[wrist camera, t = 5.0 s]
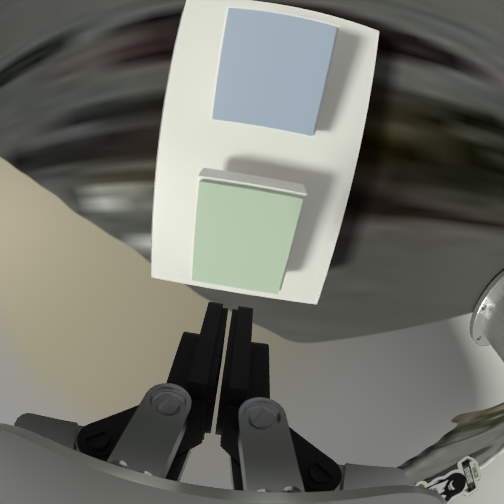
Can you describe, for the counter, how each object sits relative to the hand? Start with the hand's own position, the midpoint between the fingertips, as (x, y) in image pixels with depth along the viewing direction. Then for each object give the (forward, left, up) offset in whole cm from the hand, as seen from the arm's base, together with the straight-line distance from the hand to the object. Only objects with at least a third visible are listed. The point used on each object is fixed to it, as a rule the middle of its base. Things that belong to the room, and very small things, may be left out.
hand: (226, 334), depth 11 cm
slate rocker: (0, -11, -8) cm, 14 cm away
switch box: (0, -6, -15) cm, 16 cm away
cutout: (-71, +67, -15) cm, 99 cm away
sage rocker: (0, -1, -8) cm, 8 cm away
